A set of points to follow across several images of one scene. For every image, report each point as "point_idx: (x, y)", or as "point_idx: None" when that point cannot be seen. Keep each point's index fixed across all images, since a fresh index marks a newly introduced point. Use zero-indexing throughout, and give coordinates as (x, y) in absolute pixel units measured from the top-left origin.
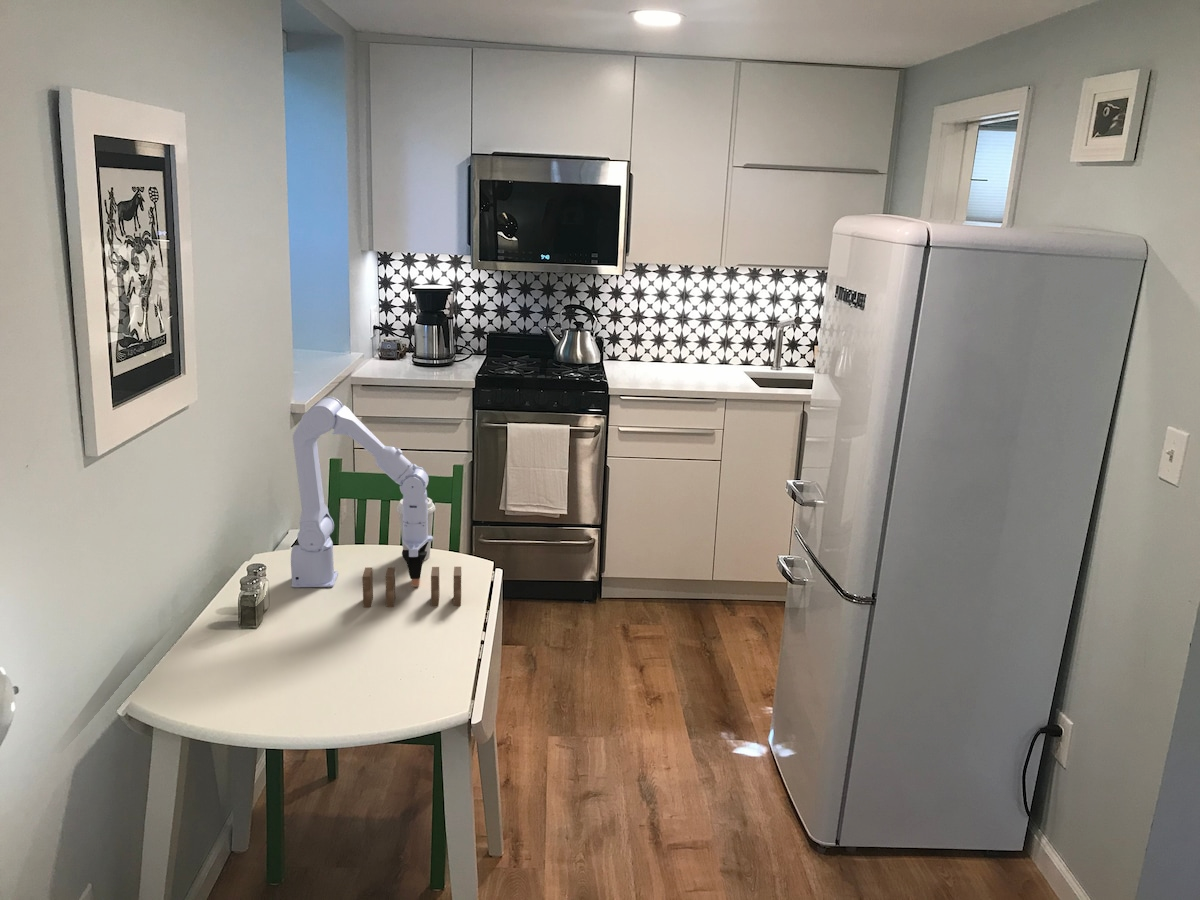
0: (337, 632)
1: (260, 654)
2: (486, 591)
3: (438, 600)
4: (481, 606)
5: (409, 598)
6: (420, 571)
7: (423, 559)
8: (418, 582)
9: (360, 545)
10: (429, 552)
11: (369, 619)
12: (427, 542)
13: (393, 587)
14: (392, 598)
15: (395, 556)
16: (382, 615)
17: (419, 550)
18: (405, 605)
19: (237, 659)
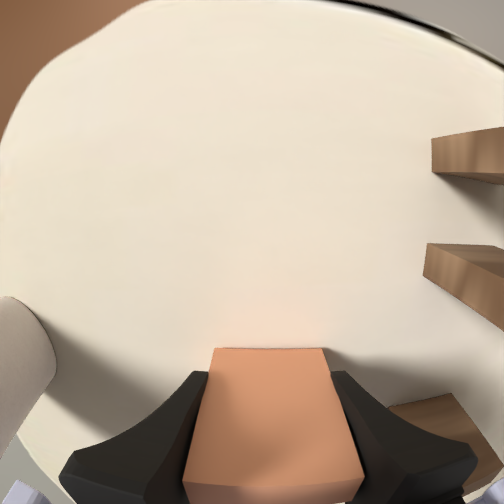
0: (493, 444)
1: (487, 485)
2: (375, 22)
3: (502, 250)
4: (493, 80)
5: (413, 362)
6: (369, 394)
7: (446, 439)
8: (324, 360)
9: (28, 449)
10: (2, 306)
11: (482, 419)
12: (149, 491)
13: (467, 437)
14: (464, 413)
15: (42, 401)
16: (480, 401)
17: (227, 486)
18: (456, 362)
19: (482, 494)
